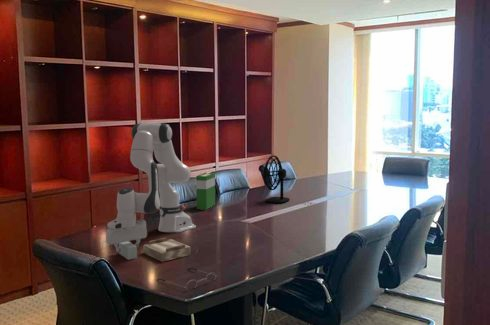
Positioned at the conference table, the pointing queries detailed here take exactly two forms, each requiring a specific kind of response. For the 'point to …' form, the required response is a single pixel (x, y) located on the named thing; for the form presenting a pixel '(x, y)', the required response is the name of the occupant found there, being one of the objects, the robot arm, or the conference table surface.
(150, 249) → the display stand
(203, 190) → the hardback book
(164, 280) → the eyeglasses
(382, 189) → the conference table surface
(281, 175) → the desk fan
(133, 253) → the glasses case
